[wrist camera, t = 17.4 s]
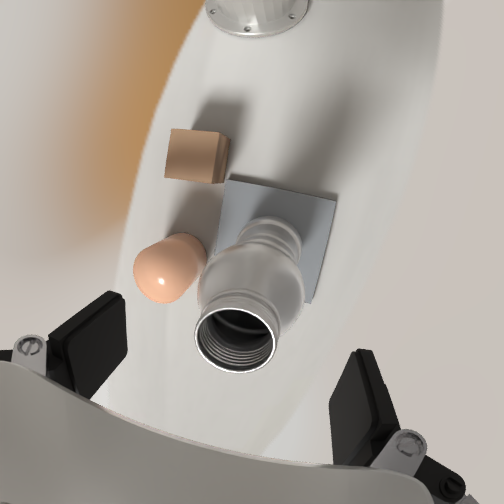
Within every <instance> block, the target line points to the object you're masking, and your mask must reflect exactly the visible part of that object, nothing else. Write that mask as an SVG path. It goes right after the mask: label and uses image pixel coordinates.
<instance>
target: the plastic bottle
mask: <svg viewBox="0 0 504 504" xmlns="http://www.w3.org/2000/svg"><path fill="white" fill-rule="evenodd" d="M301 254H302V241H301V237H300V235H299V233H298V231H297V230H296V229H295V227H294V226H293V225H292V224H290V223H289V222H288V221H286V220H284V219H282V218H279V217H275V216H262V217H259V218H256V219H254V220H252V221H250V222H249V223H247V224H246V225H245V226H244V227H243V228H242V230H241V231H240V233H239V235H238V237H237V241H236V244H235V245H232V246H230V247H228V248H226V249H224V250H222V251H221V252H219V253H218V254H217V255H216V256H214V257H213V258H212V259H211V260H210V261H209V262H208V263H207V265H206V266H205V267H204V269H203V271H202V273H201V275H200V279H199V283H198V293H197V300H198V305H199V309H200V312H201V316H200V318H199V320H198V322H197V324H196V328H195V332H194V339H195V344H196V347H197V349H198V351H199V353H200V354H201V355H202V357H203V358H204V359H205V360H206V361H207V362H209V363H210V364H211V365H213V366H214V367H216V368H218V369H220V370H223V371H226V372H231V373H249V372H253V371H256V370H258V369H260V368H262V367H264V366H265V365H266V364H267V363H269V361H270V360H271V359H272V357H273V355H274V353H275V351H276V348H277V342H278V338H279V337H280V336H282V335H283V334H285V333H286V332H287V331H288V330H289V329H290V328H291V327H292V326H293V324H294V323H295V321H296V320H297V319H298V317H299V316H300V314H301V311H302V309H303V307H304V302H305V286H304V282H303V279H302V275H301V272H300V271H299V269H298V267H297V264H298V262H299V260H300V257H301Z"/></svg>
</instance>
